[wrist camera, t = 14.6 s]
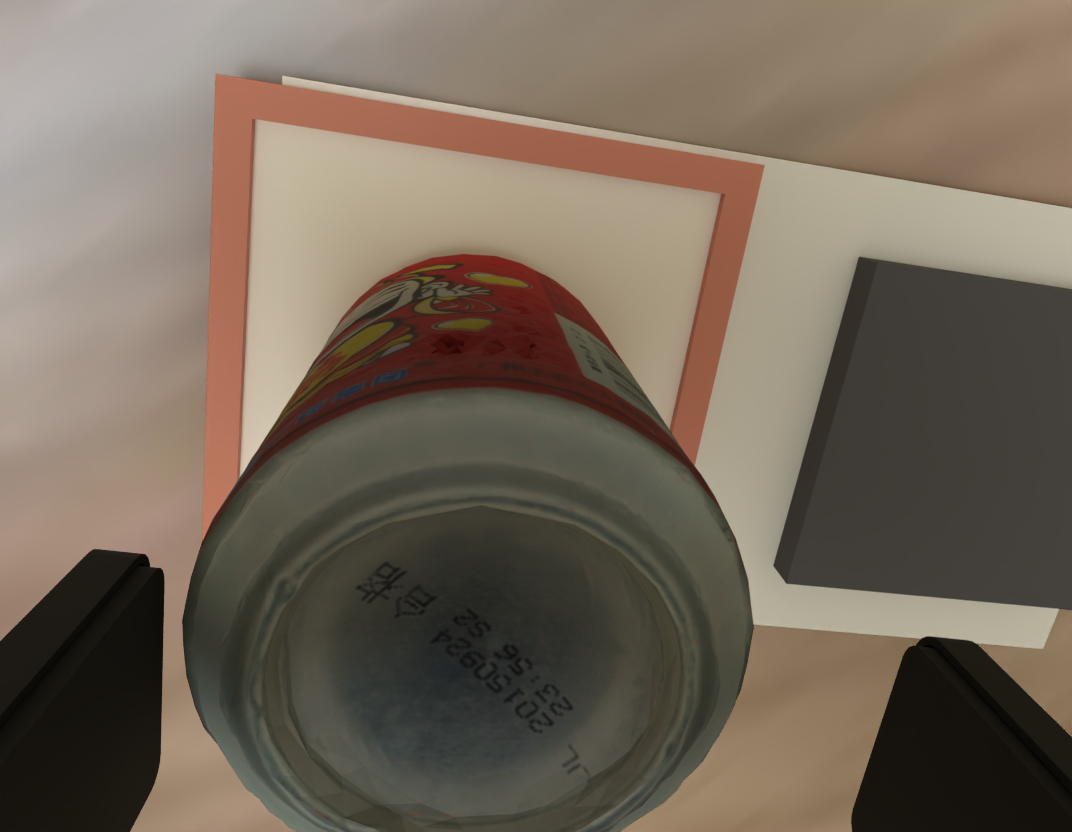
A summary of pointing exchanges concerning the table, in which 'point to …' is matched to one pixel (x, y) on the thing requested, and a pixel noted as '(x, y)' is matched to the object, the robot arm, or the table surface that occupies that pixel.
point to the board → (828, 354)
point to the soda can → (467, 576)
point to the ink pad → (940, 443)
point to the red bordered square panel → (451, 242)
